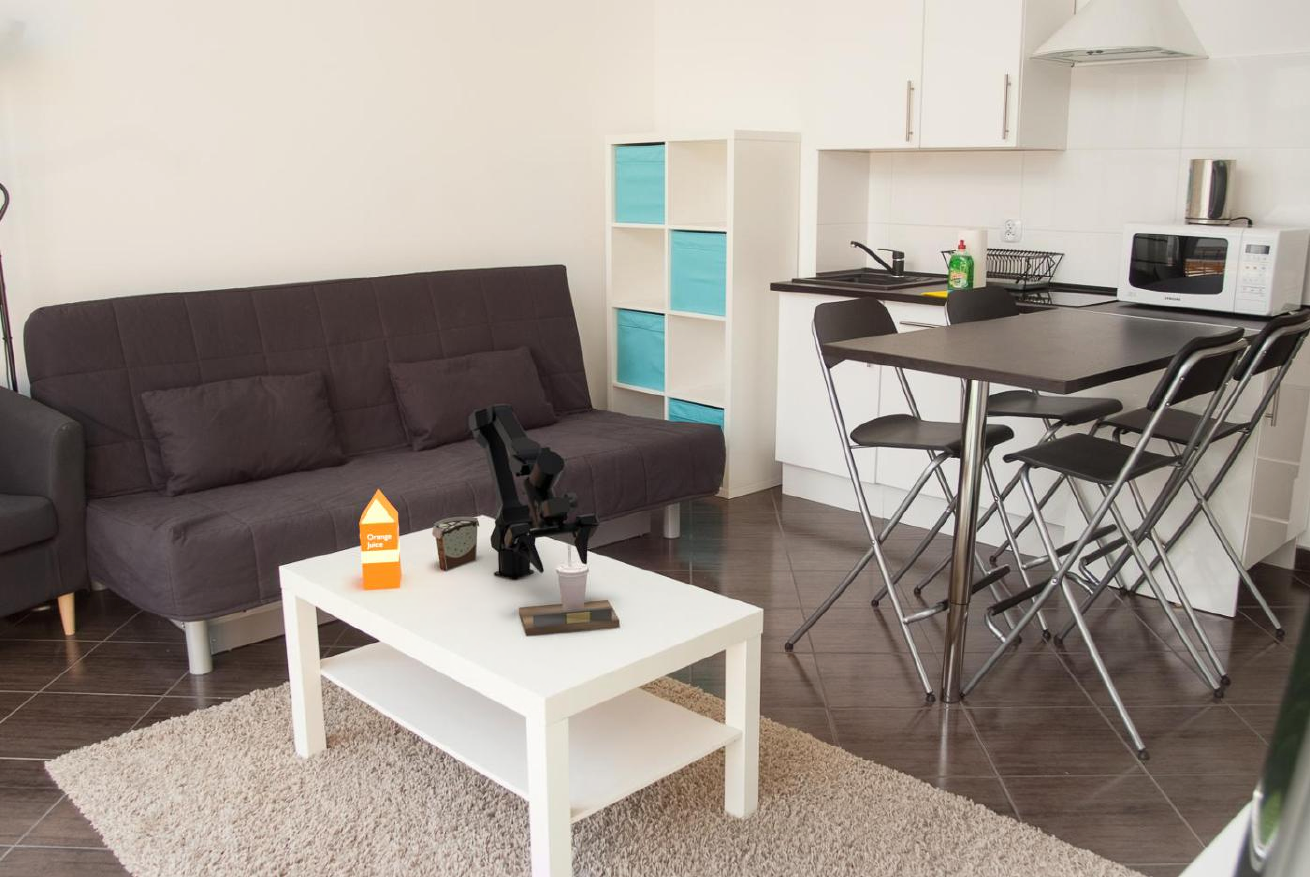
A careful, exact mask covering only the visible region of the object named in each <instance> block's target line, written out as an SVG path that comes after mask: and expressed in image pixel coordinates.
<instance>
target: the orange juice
mask: <svg viewBox="0 0 1310 877" xmlns="http://www.w3.org/2000/svg"><path fill="white" fill-rule="evenodd" d="M358 524H359V539H360V550H361V551H360V555H361V565H362V566H361V567H362V569H361V570H362V579H363V580H362V582H363V591H372V590H373V591H376V590H389V589H392V590H393V589H400V588H401V580H402V565H401V544H400V542H401V541H400V526H399V512H398V511H397V510H396V509H395V507H393V505H392V504H391V502H390V501H389V500H388V499H387V497H386V496H385V495H384V494H383V493H382V492H381V490H380V488H378V489H377V491H376V493H375V494H374V495H373V497H372V498H371V500H370V502H369V503H368V505H367V506H366V508H365V509H364V510H363V512H362V514H361V517H360V521H359V523H358Z"/></svg>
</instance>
